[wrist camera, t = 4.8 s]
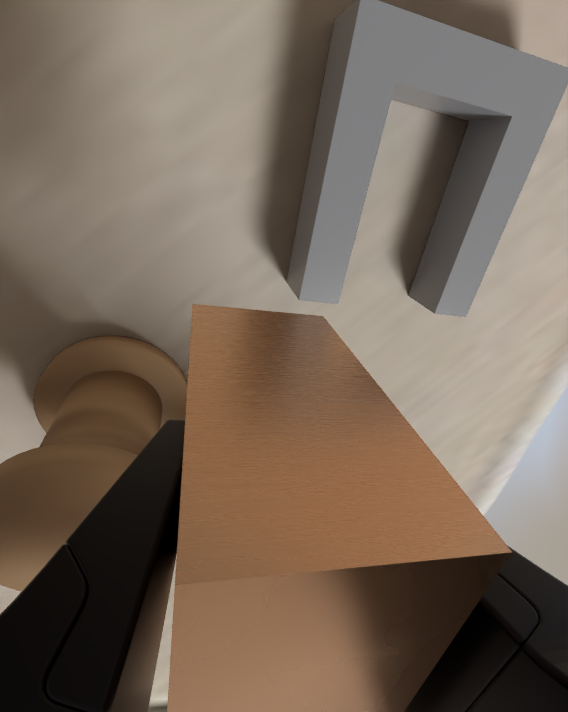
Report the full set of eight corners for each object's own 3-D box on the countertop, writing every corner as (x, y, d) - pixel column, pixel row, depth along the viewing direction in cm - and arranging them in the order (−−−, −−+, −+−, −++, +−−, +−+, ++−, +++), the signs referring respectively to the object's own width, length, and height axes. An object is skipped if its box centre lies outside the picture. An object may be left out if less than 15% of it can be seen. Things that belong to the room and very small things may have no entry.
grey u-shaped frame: (436, 299, 20) (465, 316, 18) (286, 282, 17) (299, 299, 15) (521, 81, 15) (573, 69, 13) (334, 20, 13) (361, -6, 11)
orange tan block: (286, 473, 11) (367, 765, 6) (181, 475, 10) (160, 817, 5) (322, 315, 9) (512, 552, 3) (192, 304, 8) (175, 584, 3)
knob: (185, 447, 21) (181, 588, 14) (50, 449, 19) (-30, 612, 12) (193, 340, 18) (191, 456, 11) (31, 330, 16) (-89, 462, 9)
